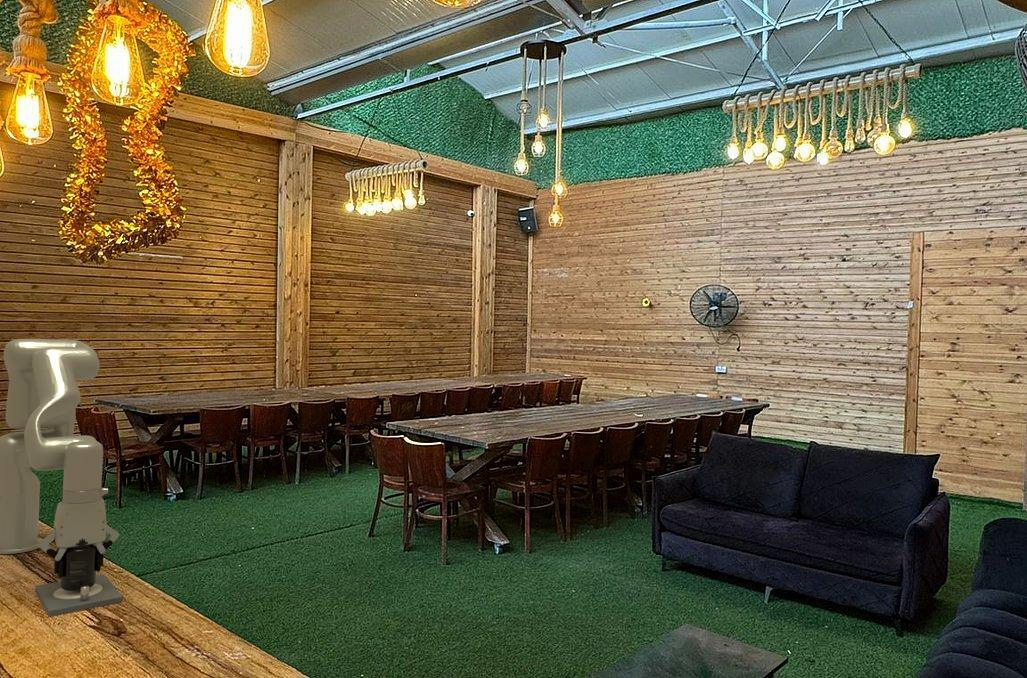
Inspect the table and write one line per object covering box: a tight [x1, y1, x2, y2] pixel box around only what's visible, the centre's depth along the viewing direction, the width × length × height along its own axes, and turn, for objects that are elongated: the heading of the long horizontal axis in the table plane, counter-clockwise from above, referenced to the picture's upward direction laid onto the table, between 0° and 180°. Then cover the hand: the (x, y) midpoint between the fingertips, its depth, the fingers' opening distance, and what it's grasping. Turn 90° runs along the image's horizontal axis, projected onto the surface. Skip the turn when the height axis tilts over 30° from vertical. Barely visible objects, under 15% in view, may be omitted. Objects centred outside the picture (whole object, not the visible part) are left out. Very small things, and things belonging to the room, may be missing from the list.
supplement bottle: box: [60, 538, 97, 591], centre depth 161 cm, size 7×7×12 cm
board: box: [34, 573, 123, 618], centre depth 161 cm, size 18×14×4 cm
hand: (78, 572), depth 161 cm, fingers closed on supplement bottle, 6 cm apart
